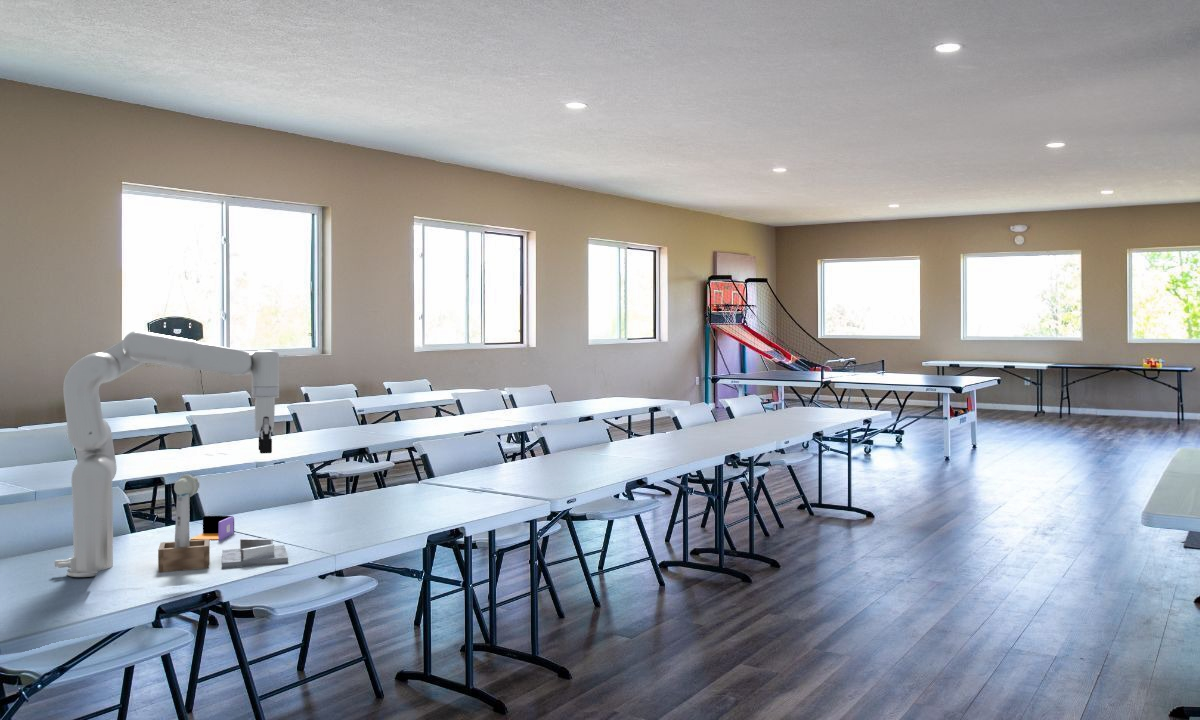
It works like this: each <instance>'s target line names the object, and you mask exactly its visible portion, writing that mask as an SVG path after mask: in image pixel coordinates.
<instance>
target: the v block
mask: <svg viewBox="0 0 1200 720" xmlns="http://www.w3.org/2000/svg"><path fill="white" fill-rule="evenodd" d="M239 541H240V542H239V548H234V549H233V548H232V549H222V551H221V552H222V553H221V569H230V568H243V567H253V566H254V567H257V566H267V565H268V566H269V565H280V564H289V557H288V553H287V551H286V547H285V545H275V544H273V543H274V542H273V541H274V538H241V539H240V540H239Z"/></svg>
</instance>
